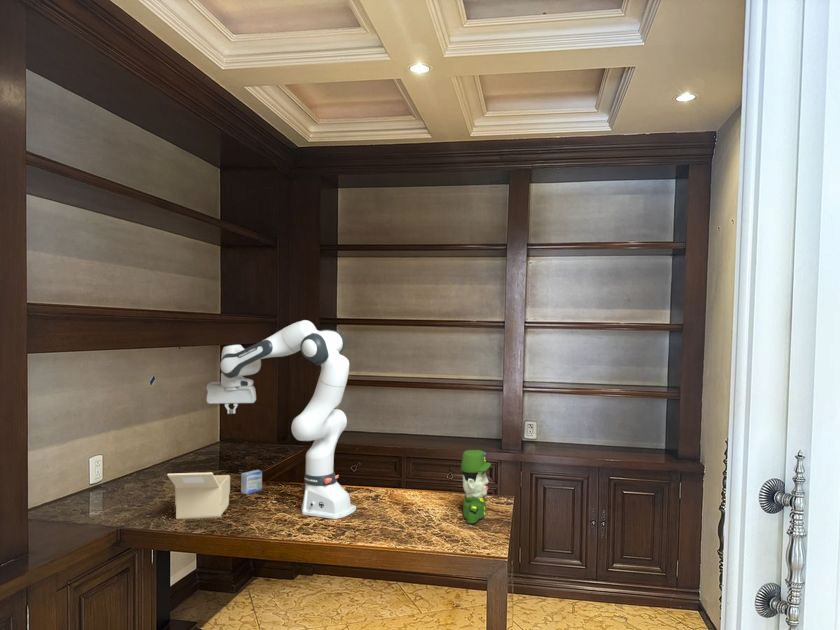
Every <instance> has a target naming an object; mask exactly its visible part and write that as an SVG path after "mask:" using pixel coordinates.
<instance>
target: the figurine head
mask: <svg viewBox="0 0 840 630" xmlns="http://www.w3.org/2000/svg"><path fill="white" fill-rule="evenodd" d="M461 458H462V459H461V463H460V471H461V475H462V487H463V491H464V493H465V494H464V501H463V505H462V506H463V507H462V513H463V517H464V518H465V520H466V522H467V523H468V524H476V523H477V522H478V521H479V520H481V519H483V518H484V517H485V516H486V514H487V505H486V497H485V496H487V494H488V491H489V487H488V484H489V482H490V481H489V479H488V477H487V474H486V472H487V471H488V470H489V469H490V467H491V465H492V463H490V462H488V461H487V462H486V452H485V451H484V450H480V449H467V450H465V451H463V453H462V457H461Z"/></svg>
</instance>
